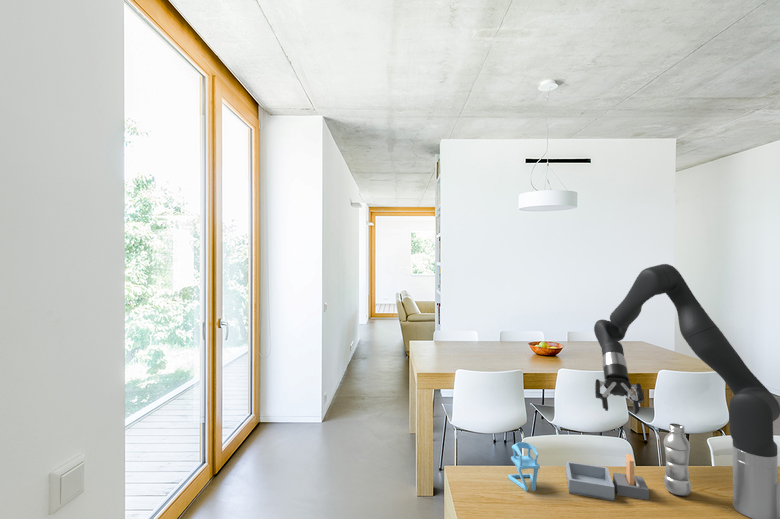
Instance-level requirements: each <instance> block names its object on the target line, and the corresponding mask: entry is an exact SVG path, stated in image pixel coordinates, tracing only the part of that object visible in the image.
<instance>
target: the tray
mask: <svg viewBox="0 0 780 519" xmlns="http://www.w3.org/2000/svg"><path fill="white" fill-rule="evenodd" d="M565 476H566V482H567V487H568V488H567V489H568V493H569V494H572V495H578V496H584V497H590V498H595V499H601V500H606V501H612V502H615V486H614V483H613V478H612V477H611V473H610V471H609V469H608V467H607V466H601V465H595V464H589V463H581V462H576V461H575V462H574V461H568V460H566V461H565Z"/></svg>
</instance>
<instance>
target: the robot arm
mask: <svg viewBox="0 0 780 519" xmlns="http://www.w3.org/2000/svg"><path fill="white" fill-rule="evenodd" d="M663 294H666V295H667V297H668V298H669V299H670V301H671V302H672V304H673V305H674V307H675V309H676V311H677V312H676V313H677V319H678V325H679V332H680V334H681V336H682V337H683V339H684V340H685V342H686V343H687V345H688V346H689V348H690V349H691V350H692V351H693V353H694V354H695V355H696V356H697V357H698V358H699V359H700V360H701V361H702V362H703V363H705V364H706V365H707V366H708V367H709V368H710V369H711V370H713V371H714V372H715V373H717V375H719V376H720V377H721V379H722V381H724V383H725V384H726V386H728V388H729V389H730V391H731V392H732V394H733V396H732V397H731V399H730V400H729V405H728V421H729V425H728V426H729V433H730V437H731V439H732V507H733V508H734V509H735V510H736V512H738V513H740V514H742V515H744V516H745V517H747V518H750V519H780V483H779V482H778V444H777V443H776V442H775V441H774V440H775V439H774V422H775V421H776V420H777V419H779V417H780V403H779V402H778V400H777V399H776V397H775V395H773V394H772V392H771V391H770V390H768V388H767V387H766V386H765V385H764V384H763V383H762V382H761V381H760V379H758V377H757V376H756V375H755V374H754V373H753V372H752V371H751V370H750V369H749V368H748V366H747V365H746V363H745V362H744V360H743V359H742V358H741V357H740V355H739V353H738V352H737V351H736V350H735V348H734V346H732V344H731V342H730V341H729V340H728V339H727V337H726V336H725V334H724V333H723V331H721V329H720V328H719V327H718V325H717V324H716V323H715V322H714V321H713V320H712V318H711V317H710V316H709V314H708V313H707V312H706V311H705V309H704V308H703V306H702V305H701V303H700V302H699V301H698V299H697V298H696V296H695V295H694V294H693V292H692V289H690V287H689V285H688V284H687V282H686V281H685V278H684V277H683V276H682V274H681V273H680V271H679V270H678V269H677V268H676V267H675V266H673V265H671V264H668V263H663V264H658V265H652V266H649V267H646V268H644V269H643V270H641V271H640V272H639V274H638V275H637V277H636V278H635V280H634V282H633V284H632V286H631V287H630V289H629V291H628V292H627V294H626V296H624V298H623V300H622V301H621V302H620V304H618V305H617V306H616V308H615V309H614V310H613V311H612V312H611V313H610V315H609V320H606V319H599V320H597V321H596V322H595V324H594V328H593V329H594V330H593V331H594V332H593V333H594V335H595V338H596V340H597V342H598V344H599V346H600V349H601V354H602V369H603V377H604V381H603V380H602V381H601V380H600V379H598V378H597V379H596V380H595V383H594V384H595V385H594V386H595V387H594V390H595V392H594V394H595V398H596V399H600V400H601V403H602V405H601V406H602V409H604V411H606V412H608V411H609V403H608V398H610V396H611V395H613V396H618V397H619V396H620V397H625V398H627V400H630V402H631V403H632V410H633V415H638V414H639V411H640V405H639V404H643V403H644V400H645V396H644V392H643V388H642V386H641V385H642V384H641V383H640V382H639V383H638V382H637V383H636V384H632V383H631V382H630V378H629V373H628V367H627V361H626V358H625V353H624V352H625V351H624V347H623V345H622V343H621V341H622V340H624V338H625V337H626V334H627V331H628V329H629V327H630V325H632V324H633V322H634V321H636V319H637V318H638V317H639V315H640V314H641V312H642V308H643V305H644V304H645V303H647V302H648V301H649V300H650V299H652V298H653V297H655V296H658V295H663ZM603 386H604V388H605V391H604V392H603V393H601V388H602V387H603ZM631 389H633V391H634V392H635V393H636V395H635V394H634V392H633V391H632V390H631Z"/></svg>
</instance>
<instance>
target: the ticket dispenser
mask: <svg viewBox="0 0 780 519" xmlns="http://www.w3.org/2000/svg"><path fill="white" fill-rule="evenodd" d="M612 482H613V485H614V490H615V491H616V494H617V496H622V497H628V498H632V499H633V498H635V499H640V500H643V501H644V500H646V501H649V500H650V489H649V487H648V486H647V483H646V481H645V480H644V477H643V476H639V475H635V474H634V486H632V485H629V484H628V482H627V479H626V474H625V473H618V472H613V473H612Z"/></svg>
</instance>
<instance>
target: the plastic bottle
mask: <svg viewBox="0 0 780 519" xmlns="http://www.w3.org/2000/svg"><path fill="white" fill-rule="evenodd" d="M668 427H669V428H668V431H669V433H667V434H666V435H665V437H664V438H663V446H664V452H665V453H664V454H665V465H666V466H665V474H664V477H663V478H664V479H663V483H664V487H665V488H666V490H667V491H668V492H670V493H671V494H673V495H675V496H682V497H687V496H688V495H690V493H691V491H692V485H691V480H690V474H689V471H690V470H689V460H690V459H689V458H690V454H691V453H690V452H691V444H690V442H689V440H688V438H687V437H686V436H685V434H686V431H685V430H686V429H685V425H682V424H679V423H675V422H673V423H671V422H670V423H669V426H668Z"/></svg>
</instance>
